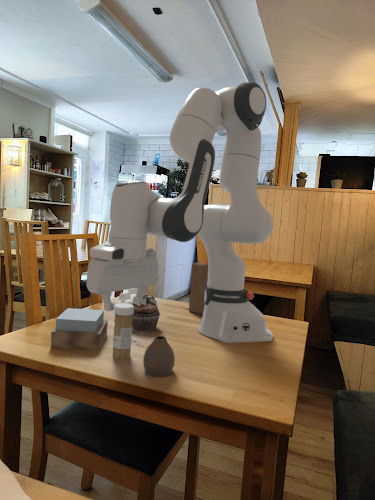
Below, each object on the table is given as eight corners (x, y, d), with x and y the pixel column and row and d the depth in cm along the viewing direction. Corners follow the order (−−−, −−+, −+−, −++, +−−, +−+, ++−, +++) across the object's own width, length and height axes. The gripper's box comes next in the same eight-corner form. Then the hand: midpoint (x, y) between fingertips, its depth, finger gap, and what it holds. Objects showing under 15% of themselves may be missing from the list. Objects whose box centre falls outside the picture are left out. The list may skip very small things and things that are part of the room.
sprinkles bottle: (109, 356, 90) (112, 303, 89) (127, 354, 93) (130, 302, 91) (115, 364, 86) (118, 308, 85) (133, 361, 89) (136, 307, 87)
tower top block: (103, 320, 103) (103, 310, 103) (95, 332, 93) (96, 321, 93) (67, 318, 103) (67, 308, 103) (55, 330, 93) (56, 318, 93)
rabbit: (116, 312, 128) (117, 286, 127) (136, 311, 131) (138, 285, 130) (123, 321, 119) (125, 292, 118) (145, 319, 122) (147, 291, 121)
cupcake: (121, 327, 113) (122, 295, 111) (143, 321, 120) (145, 291, 119) (143, 335, 107) (145, 302, 106) (165, 328, 115) (167, 297, 113)
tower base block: (106, 336, 105) (107, 319, 104) (99, 353, 93) (100, 334, 93) (64, 334, 104) (64, 317, 104) (50, 350, 92) (51, 331, 92)
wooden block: (215, 314, 134) (219, 265, 132) (207, 317, 130) (211, 266, 128) (195, 309, 140) (199, 262, 138) (188, 311, 136) (191, 263, 134)
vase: (169, 384, 78) (172, 345, 77) (138, 380, 79) (140, 340, 78) (176, 371, 85) (178, 334, 84) (147, 367, 86) (149, 330, 85)
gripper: (147, 246, 97) (144, 298, 98) (83, 249, 80) (80, 311, 82) (165, 249, 93) (162, 302, 95) (103, 253, 77) (99, 317, 78)
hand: (123, 306), depth 88 cm, fingers open, 8 cm apart
